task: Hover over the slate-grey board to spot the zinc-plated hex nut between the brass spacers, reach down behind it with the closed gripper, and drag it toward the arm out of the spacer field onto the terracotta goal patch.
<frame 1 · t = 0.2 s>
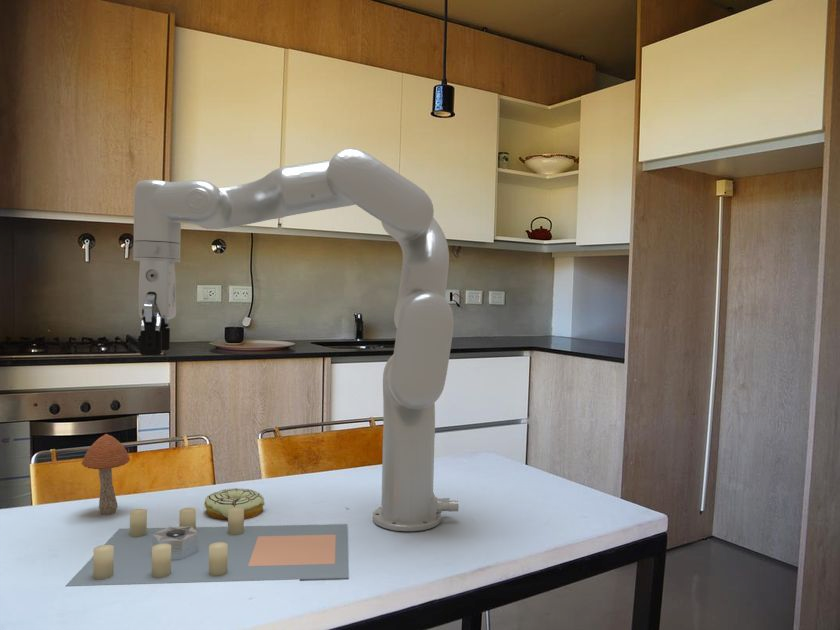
hand: (155, 352, 112), 31 cm above the table, fingers open, 9 cm apart
hex nut: (175, 552, 102), resting on spacer board
decorated donut: (234, 514, 121), on the table
mushroom: (105, 515, 118), on the table
spacer board: (224, 552, 103), on the table
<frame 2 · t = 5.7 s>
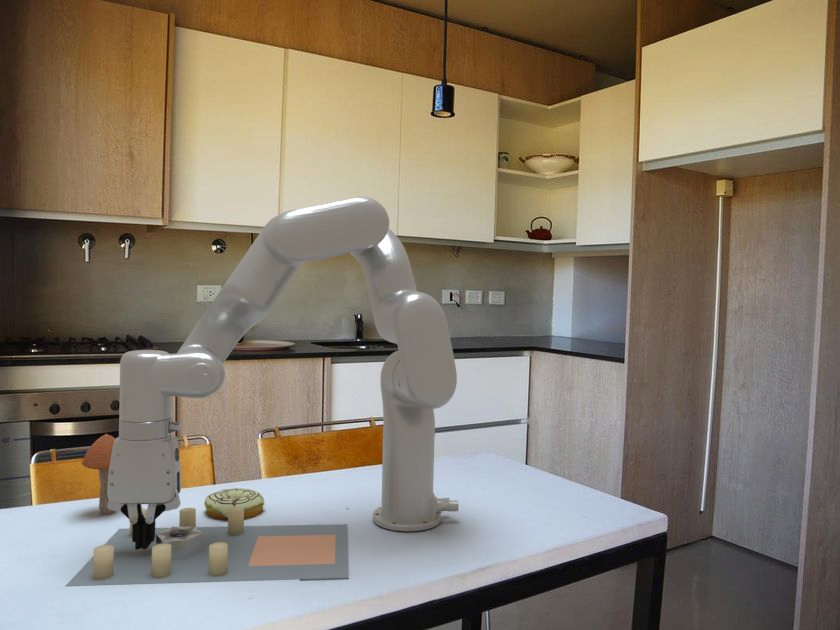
hand: (143, 545, 101), 1 cm above the table, fingers closed
hex nut: (178, 552, 102), resting on spacer board, touching gripper
everything else where it was.
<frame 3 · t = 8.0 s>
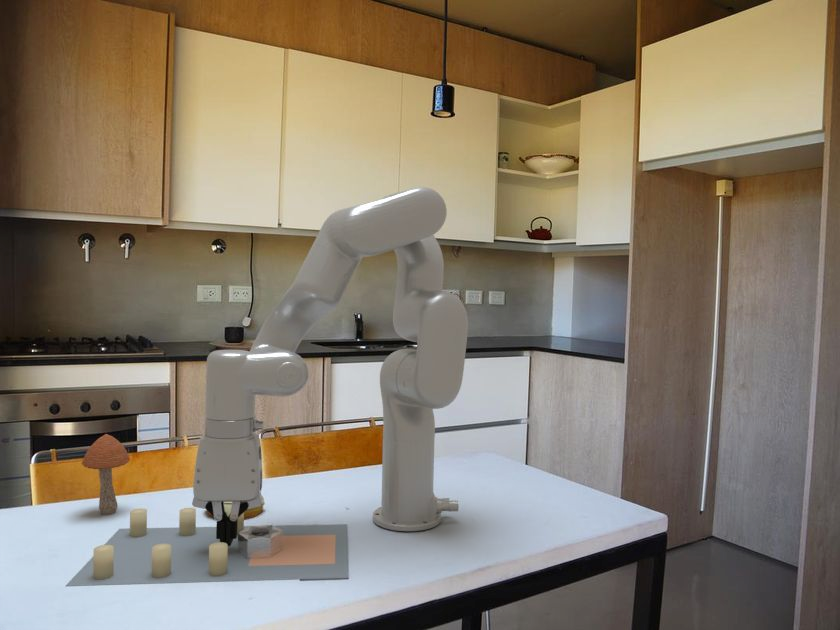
hand: (226, 542, 102), 2 cm above the table, fingers closed
hex nut: (260, 550, 103), resting on spacer board, touching gripper
everything else where it was.
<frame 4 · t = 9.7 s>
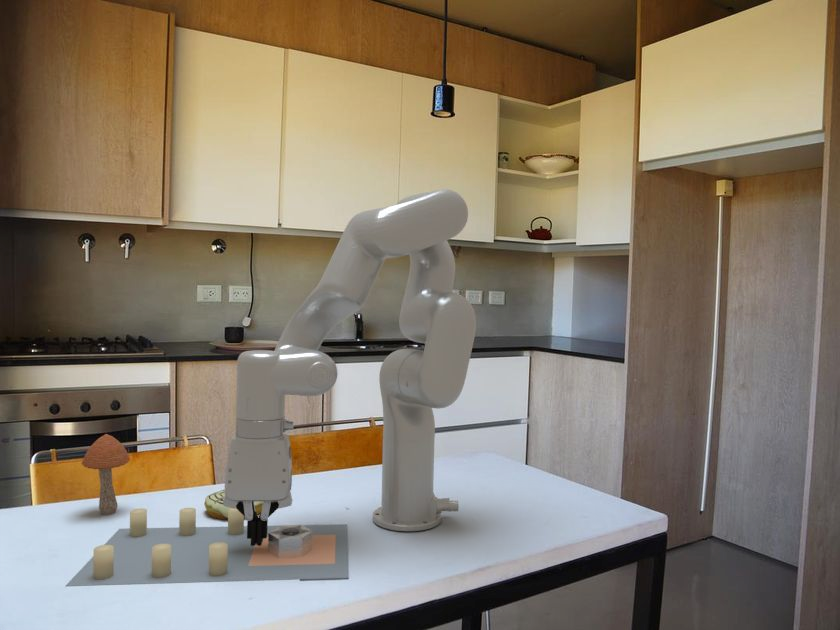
hand: (257, 542, 103), 2 cm above the table, fingers closed
hex nut: (290, 550, 103), resting on spacer board, touching gripper
everything else where it was.
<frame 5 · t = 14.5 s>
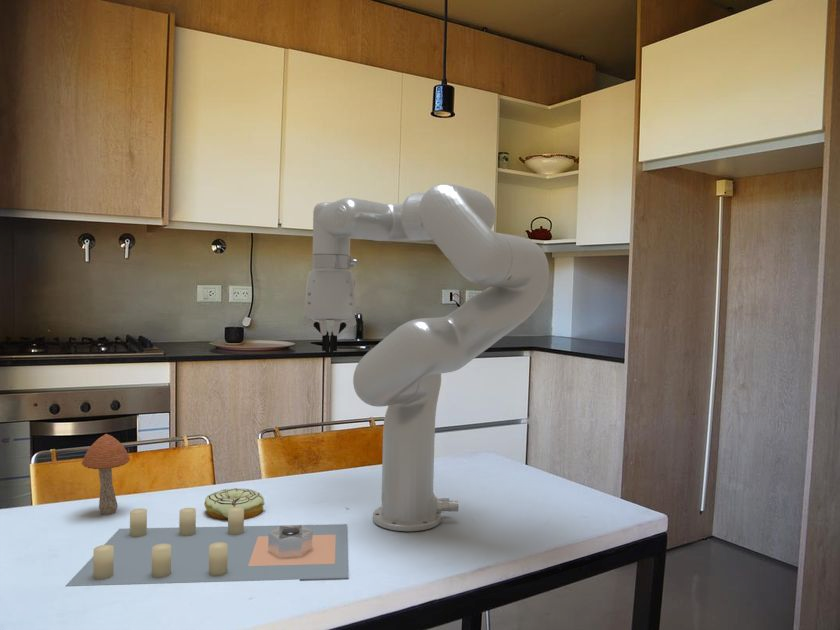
hand: (329, 354, 131), 29 cm above the table, fingers closed
hex nut: (290, 550, 103), resting on spacer board
everything else where it was.
at the end: hex nut inside the target area (0.6 cm from its centre), resting on spacer board; hex nut moved 17.9 cm from its start; hex nut tilted 0° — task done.
